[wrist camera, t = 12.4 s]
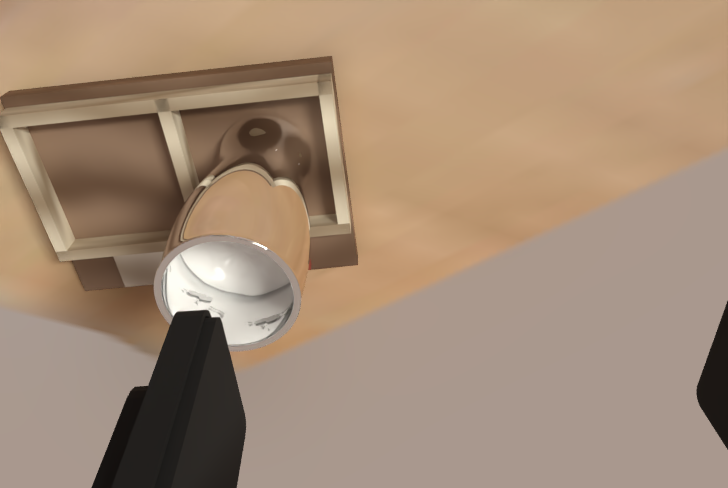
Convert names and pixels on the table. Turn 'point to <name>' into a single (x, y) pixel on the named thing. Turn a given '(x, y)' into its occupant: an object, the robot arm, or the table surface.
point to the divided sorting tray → (165, 159)
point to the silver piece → (244, 236)
